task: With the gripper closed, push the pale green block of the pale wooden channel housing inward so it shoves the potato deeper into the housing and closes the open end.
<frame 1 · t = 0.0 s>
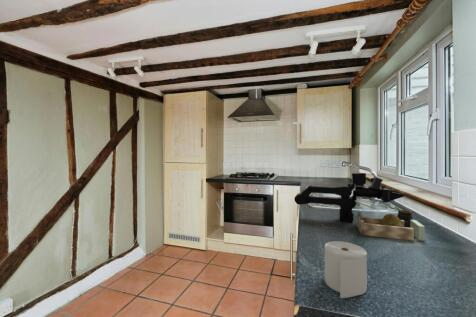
hand: (400, 194, 111), 17 cm above the worktop, tool horizontal, fingers open, 9 cm apart
housing: (383, 232, 102), on the worktop
potato: (392, 233, 102), touching housing
mate gourd: (404, 227, 111), on the worktop
pale green block: (417, 229, 98), point 3 cm above the worktop, slide at 4.8 cm
toilet tissue: (346, 286, 61), on the worktop
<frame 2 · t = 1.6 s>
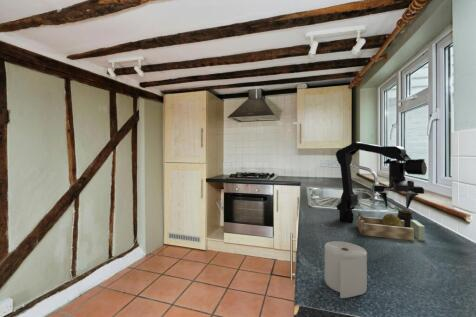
hand: (396, 207, 101), 12 cm above the worktop, tool pointing down, fingers open, 8 cm apart
nothing on the worktop moved.
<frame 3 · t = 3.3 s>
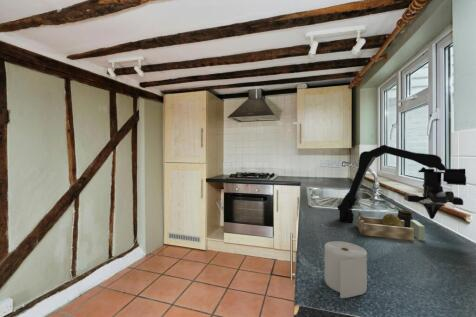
hand: (431, 218, 96), 8 cm above the worktop, tool pointing down, fingers closed
nothing on the worktop moved.
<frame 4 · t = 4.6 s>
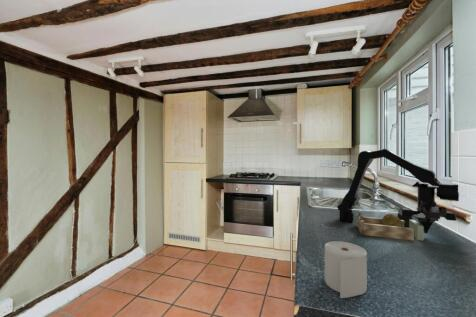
hand: (425, 233, 97), 2 cm above the worktop, tool pointing down, fingers closed
pale green block: (416, 229, 98), point 3 cm above the worktop, slide at 4.3 cm, touching gripper
everything else where it was.
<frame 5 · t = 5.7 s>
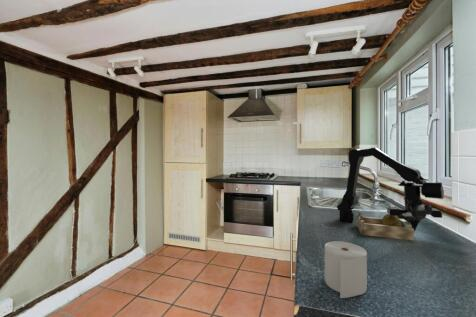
hand: (413, 231, 98), 2 cm above the worktop, tool pointing down, fingers closed
potato: (392, 233, 102), touching pale green block, housing
pale green block: (405, 228, 99), point 3 cm above the worktop, slide at 0.3 cm, touching gripper, potato
everything else where it was.
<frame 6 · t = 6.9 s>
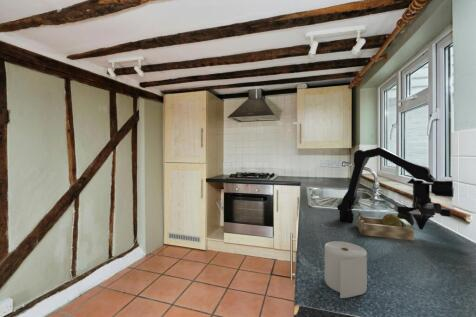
hand: (420, 229, 97), 3 cm above the worktop, tool pointing down, fingers closed
potato: (392, 233, 102), touching housing
pale green block: (405, 228, 99), point 3 cm above the worktop, slide at 0.3 cm
everything else where it was.
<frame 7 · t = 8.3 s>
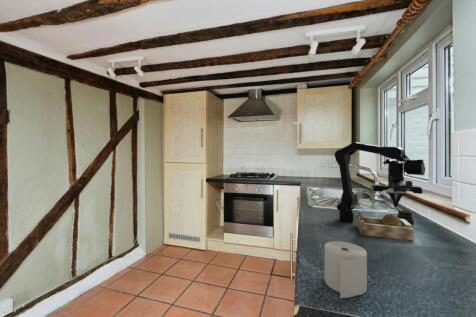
hand: (395, 207, 102), 12 cm above the worktop, tool pointing down, fingers closed
nothing on the worktop moved.
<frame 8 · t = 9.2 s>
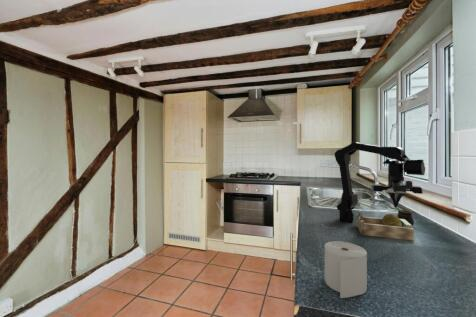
hand: (395, 207, 102), 12 cm above the worktop, tool pointing down, fingers closed
nothing on the worktop moved.
at the end: pale green block slide at 0.3 cm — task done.
